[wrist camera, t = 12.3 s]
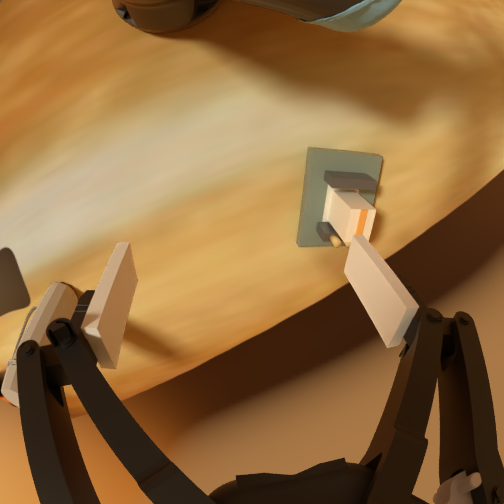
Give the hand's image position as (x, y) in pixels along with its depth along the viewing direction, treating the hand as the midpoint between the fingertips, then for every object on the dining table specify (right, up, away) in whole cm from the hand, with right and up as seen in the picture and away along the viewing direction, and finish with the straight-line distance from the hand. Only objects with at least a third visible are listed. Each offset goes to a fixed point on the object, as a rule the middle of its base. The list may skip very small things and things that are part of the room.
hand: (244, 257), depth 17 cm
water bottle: (-37, -8, +32) cm, 49 cm away
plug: (+14, +8, +27) cm, 32 cm away
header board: (+14, +9, +28) cm, 33 cm away
